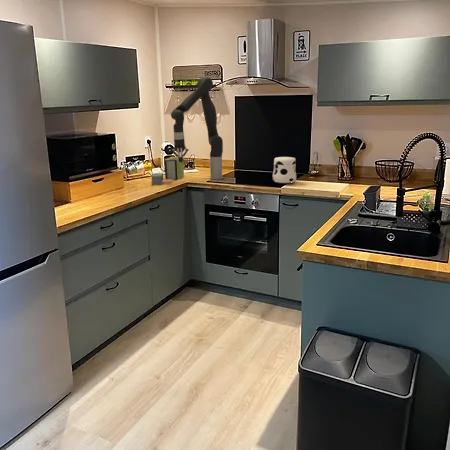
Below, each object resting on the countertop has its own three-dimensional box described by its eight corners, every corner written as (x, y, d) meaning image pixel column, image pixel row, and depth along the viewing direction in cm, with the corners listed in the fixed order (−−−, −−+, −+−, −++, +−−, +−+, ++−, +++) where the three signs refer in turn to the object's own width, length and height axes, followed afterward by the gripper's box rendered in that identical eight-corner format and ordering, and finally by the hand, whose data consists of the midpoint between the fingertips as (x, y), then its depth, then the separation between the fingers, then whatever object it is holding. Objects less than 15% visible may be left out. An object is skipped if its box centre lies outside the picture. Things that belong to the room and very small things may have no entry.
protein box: (184, 176, 363) (183, 156, 358) (177, 180, 348) (176, 159, 344) (171, 175, 365) (171, 156, 361) (164, 179, 351) (163, 159, 346)
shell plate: (172, 182, 341) (172, 179, 341) (171, 184, 334) (171, 181, 333) (155, 182, 342) (155, 179, 341) (153, 185, 334) (153, 181, 334)
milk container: (301, 182, 331) (301, 158, 326) (285, 186, 320) (286, 161, 315) (282, 179, 344) (283, 155, 338) (267, 183, 332) (267, 158, 327)
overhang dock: (163, 181, 343) (163, 173, 342) (161, 184, 332) (161, 176, 330) (154, 181, 343) (153, 173, 342) (152, 185, 332) (151, 176, 330)
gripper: (188, 137, 331) (190, 160, 337) (170, 138, 331) (172, 161, 337) (187, 138, 324) (189, 162, 329) (169, 139, 324) (171, 163, 329)
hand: (180, 162), depth 333 cm, fingers closed
